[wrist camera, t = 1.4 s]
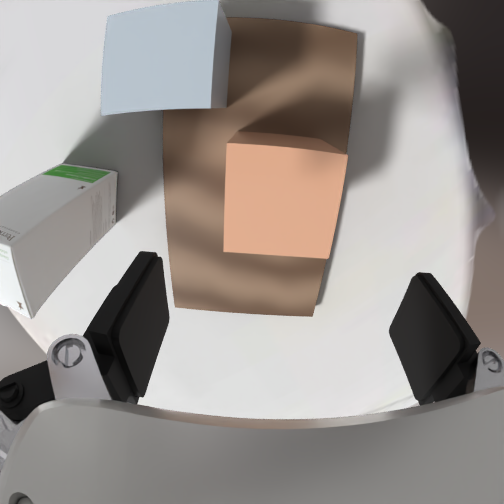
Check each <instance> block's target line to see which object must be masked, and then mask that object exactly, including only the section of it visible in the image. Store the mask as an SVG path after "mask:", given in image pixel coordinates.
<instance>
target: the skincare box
mask: <svg viewBox="0 0 504 504" xmlns="http://www.w3.org/2000/svg"><path fill="white" fill-rule="evenodd" d="M117 175H118V173H117V172H116V171H111V170H104V169H100V168H93V167H85V166H78V165H71V164H65V163H62V164H59V165H57V166H55V167H53V168H51V169H49V170H47V171H45V172H43V173H41V174H39V175H37V176H35V177H33V178H31V179H29V180H27V181H25V182H24V183H22V184H20V185H18V186H16V187H15V188H13V189H11V190H9V191H8V192H6V193H4V194H3V195H1V196H0V304H1V305H3V306H8V307H10V308H12V309H14V310H15V311H17V312H19V313H21V314H22V315H24V316H26V317H28V318H30V319H32V318H34V317H35V315H36V313H37V312H38V310H39V309H40V307H41V306H42V305H43V304H44V302H45V301H46V300H47V298H48V297H49V296H50V295H51V294H52V292H53V291H54V290H55V289H56V288H57V286H58V285H59V284H60V283H61V282H62V281H63V279H64V278H65V277H66V276H67V275H68V274H69V273H70V271H71V270H72V269H73V268H74V267H75V266H76V265H77V264H78V262H79V261H80V260H81V259H82V258H83V257H84V256H85V255H86V254H87V253H88V252H89V251H90V250H91V249H92V247H93V246H94V245H95V244H96V243H97V242H98V241H99V240H100V239H101V238H102V237H103V236H104V235H105V234H106V233H107V232H108V231H109V230H110V229H111V228H112V227H113V226H114V225H115V224H116V193H117Z"/></svg>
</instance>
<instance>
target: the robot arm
mask: <svg viewBox="0 0 504 504" xmlns="http://www.w3.org/2000/svg"><path fill="white" fill-rule="evenodd" d="M168 324H169V310H168V303H167V295H166V287H165V279H164V270H163V261H162V258H161V257H158V255H157V253H156V252H145V251H140V252H139V254H138V255H137V256H136V258H135V259H134V261H133V262H132V264H131V265H130V266H129V268H128V269H127V271H126V272H125V274H124V275H123V277H122V278H121V280H120V281H119V283H118V284H117V285H116V286H114V287H113V288H112V290H111V292H110V293H109V295H108V296H107V298H106V299H105V301H104V302H103V304H102V305H101V307H100V309H99V310H98V312H97V313H96V315H95V317H94V318H93V320H92V321H91V323H90V325H89V326H88V328H87V330H86V331H85V333H84V335H83V336H80V335H77V334H69V335H64V336H62V337H60V338H58V339H57V340H55V341H54V342H53V343H52V344H51V346H50V347H49V349H48V352H47V360H46V361H44V362H42V363H39V364H37V365H34V366H32V367H29V368H27V369H24V370H22V371H19V372H17V373H15V374H12V375H9V376H7V377H5V378H3V379H2V380H1V381H0V504H504V361H503V359H502V358H501V356H500V355H499V354H498V353H497V352H496V351H494V350H493V349H490V348H482V349H481V350H480V351H479V352H478V354H477V352H476V349H477V348H478V346H479V345H480V344H481V343H480V341H479V339H478V338H477V336H476V335H475V333H474V332H473V330H472V329H471V327H470V326H469V324H468V323H467V321H466V320H465V318H464V317H463V315H462V314H461V312H460V311H459V310H458V308H457V307H456V305H455V304H454V303H453V301H452V300H451V299H450V297H449V296H448V294H447V293H446V292H445V290H444V289H443V288H442V287H441V285H440V284H439V283H438V281H437V280H436V279H435V278H434V276H433V275H432V274H431V273H421V272H419V273H417V274H416V275H415V276H413V277H412V279H411V281H410V284H409V286H408V289H407V291H406V293H405V296H404V298H403V300H402V302H401V305H400V307H399V309H398V311H397V313H396V315H395V317H394V319H393V322H392V324H391V326H390V329H389V334H390V337H391V339H392V342H393V344H394V346H395V349H396V351H397V353H398V356H399V358H400V361H401V363H402V366H403V368H404V371H405V373H406V376H407V378H408V381H409V383H410V386H411V389H412V391H413V394H414V397H415V399H416V400H418V402H419V404H420V406H416V407H411V408H406V409H400V410H394V411H388V412H382V413H375V414H367V415H359V416H349V417H337V418H322V419H248V418H232V417H221V416H211V415H202V414H194V413H186V412H179V411H172V410H166V409H160V408H154V407H149V406H143V405H137V403H138V400H139V397H144V395H145V393H146V390H147V386H148V383H149V380H150V377H151V374H152V371H153V368H154V365H155V362H156V359H157V356H158V353H159V350H160V347H161V344H162V341H163V338H164V335H165V332H166V330H167V327H168ZM434 401H435V402H434ZM127 402H128V403H127ZM433 402H434V403H433ZM131 403H132V404H131Z"/></svg>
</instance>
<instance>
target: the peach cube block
mask: <svg viewBox="0 0 504 504" xmlns="http://www.w3.org/2000/svg"><path fill="white" fill-rule="evenodd" d="M347 160H348V155H347V154H345V153H344V152H342V151H340V150H339V149H337V148H335V147H334V146H332V145H330V144H328V143H327V142H325V141H323V140H321V139H317V138H310V137H302V136H293V135H283V134H272V133H259V132H243V131H237V132H236V133H235V134H234V136H233V137H232V138H231V139H230V140H229V141H228V142H227V149H226V174H225V205H224V251H223V252H234V253H249V254H263V255H278V256H293V257H308V258H323V259H329V255H330V251H331V246H332V241H333V237H334V232H335V227H336V222H337V217H338V212H339V207H340V201H341V196H342V190H343V185H344V179H345V173H346V166H347Z"/></svg>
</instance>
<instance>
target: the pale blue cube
mask: <svg viewBox="0 0 504 504" xmlns="http://www.w3.org/2000/svg"><path fill="white" fill-rule="evenodd" d="M231 36H232V31H231V29H230V26H229V24H228V21H227V18H226V16H225V13H224V11H223V9H222V6H221V4H220V1H219V0H199V1H187V2H178V3H170V4H163V5H156V6H150V7H145V8H140V9H135V10H130V11H126V12H122V13H118V14H114V15H110V16H108V18H107V25H106V32H105V41H104V51H103V63H102V82H101V116H104V115H111V114H119V113H128V112H138V111H150V110H166V109H197V108H227V92H228V77H229V62H230V49H231Z"/></svg>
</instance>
